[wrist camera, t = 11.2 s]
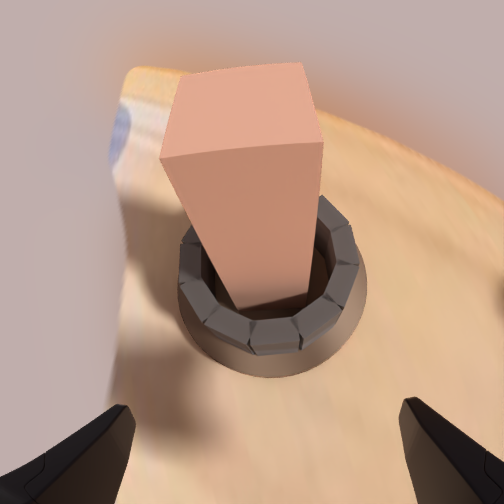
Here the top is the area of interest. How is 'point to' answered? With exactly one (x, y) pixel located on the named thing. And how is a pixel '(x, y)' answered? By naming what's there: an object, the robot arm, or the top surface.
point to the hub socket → (277, 320)
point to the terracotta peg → (249, 177)
